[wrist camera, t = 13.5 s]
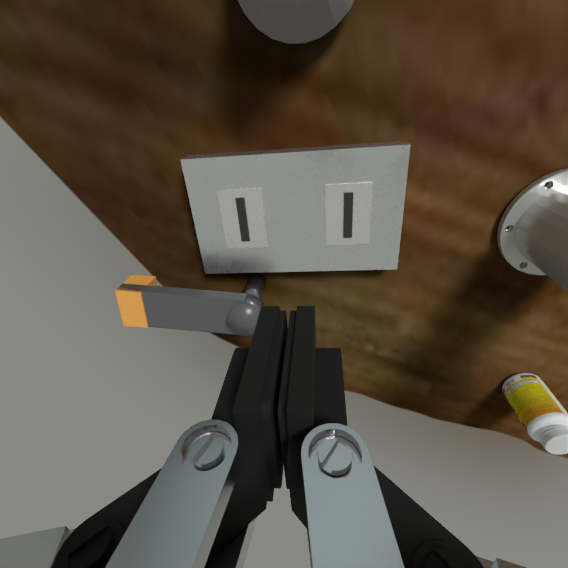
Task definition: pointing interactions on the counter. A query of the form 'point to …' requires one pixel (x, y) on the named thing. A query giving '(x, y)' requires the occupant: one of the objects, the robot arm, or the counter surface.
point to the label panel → (299, 207)
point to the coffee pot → (295, 17)
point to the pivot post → (255, 285)
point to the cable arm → (186, 308)
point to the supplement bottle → (538, 411)
